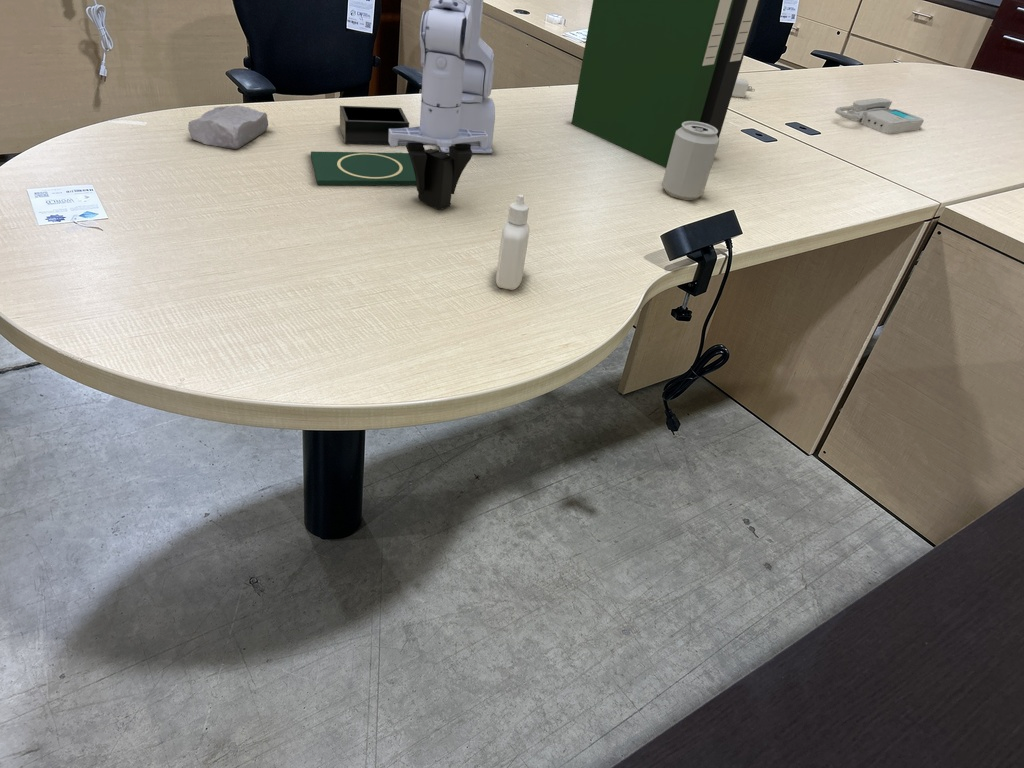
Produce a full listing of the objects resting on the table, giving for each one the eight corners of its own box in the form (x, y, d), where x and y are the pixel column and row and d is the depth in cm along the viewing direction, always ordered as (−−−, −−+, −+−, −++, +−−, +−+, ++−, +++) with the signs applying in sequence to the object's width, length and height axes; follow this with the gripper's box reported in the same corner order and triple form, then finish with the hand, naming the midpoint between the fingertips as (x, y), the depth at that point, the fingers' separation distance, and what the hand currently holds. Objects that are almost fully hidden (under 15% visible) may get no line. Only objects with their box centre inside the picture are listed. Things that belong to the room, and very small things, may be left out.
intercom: (827, 101, 181) (884, 95, 194) (820, 119, 184) (877, 112, 196) (873, 119, 173) (929, 112, 186) (865, 137, 175) (921, 129, 188)
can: (704, 191, 133) (724, 125, 126) (699, 205, 128) (719, 137, 120) (664, 181, 135) (681, 115, 128) (657, 195, 129) (675, 126, 122)
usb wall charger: (723, 92, 192) (728, 76, 190) (747, 94, 193) (752, 79, 191) (728, 96, 189) (733, 80, 187) (753, 99, 190) (758, 83, 188)
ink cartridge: (450, 207, 114) (455, 157, 109) (440, 211, 112) (444, 160, 108) (428, 196, 116) (431, 146, 111) (417, 199, 115) (421, 149, 110)
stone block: (186, 150, 122) (241, 150, 120) (178, 121, 120) (233, 120, 118) (224, 132, 132) (274, 131, 130) (216, 104, 129) (268, 103, 127)
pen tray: (400, 129, 139) (401, 107, 136) (408, 145, 133) (409, 122, 130) (339, 127, 135) (339, 105, 133) (345, 143, 129) (345, 121, 127)
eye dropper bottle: (482, 280, 97) (492, 195, 90) (509, 267, 101) (520, 184, 94) (508, 293, 95) (520, 207, 88) (534, 280, 99) (548, 196, 92)
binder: (568, 123, 154) (599, -51, 135) (613, 115, 163) (648, -49, 144) (671, 170, 140) (722, -17, 121) (714, 157, 149) (767, -19, 130)
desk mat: (416, 157, 129) (417, 152, 128) (431, 185, 120) (431, 180, 119) (310, 155, 123) (310, 150, 122) (317, 185, 114) (317, 179, 114)
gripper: (395, 109, 100) (392, 202, 108) (497, 112, 104) (487, 202, 112) (387, 92, 105) (384, 183, 113) (484, 96, 109) (475, 183, 117)
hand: (435, 191), depth 113 cm, fingers closed on ink cartridge, 4 cm apart
